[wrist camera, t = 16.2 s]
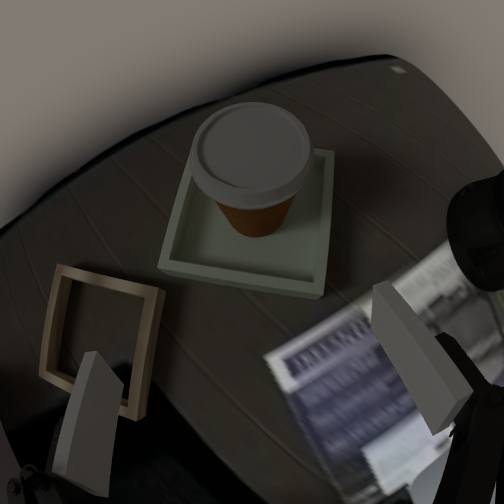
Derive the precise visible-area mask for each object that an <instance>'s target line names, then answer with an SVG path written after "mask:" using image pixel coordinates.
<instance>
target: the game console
mask: <svg viewBox="0 0 504 504" xmlns="http://www.w3.org/2000/svg"><path fill="white" fill-rule="evenodd" d="M20 471H21V468H20V466H19V464H18V462H17V460H16V458H15V455H14V453H13V451H12V449H11V446H10V444H9V441H8V439H7V436H6V434H5V431H4V429H3V426H2V423H1V420H0V504H8V497H7V483H8V481H9V480H10V479H11V478H13V477H16V478H18V479H19V475H20Z"/></svg>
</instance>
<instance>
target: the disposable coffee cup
mask: <svg viewBox="0 0 504 504" xmlns="http://www.w3.org/2000/svg"><path fill="white" fill-rule="evenodd" d="M314 160H315V156H314V148H313V145H312V142H311V140H310V138H309V136H308V133H307V131H306V129H305V127H304V126H303V124H302V123H301V122H300V121H299V120H298V119H297V118H296V117H295V116H294V115H293V114H291V113H290V112H288V111H286V110H285V109H282V108H280V107H278V106H275V105H271V104H266V103H259V102H247V103H239V104H235V105H231V106H228V107H225V108H223V109H221V110H219V111H217V112H216V113H214V114H213V115H211V116H210V117H209V118H208V119H207V120H206V121H205V122H204V123H203V124H202V125H201V126H200V128H199V129H198V131H197V133H196V135H195V137H194V140H193V144H192V147H191V151H190V157H189V163H190V170H191V173H192V176H193V178H194V180H195V182H196V184H197V185H198V186H199V187H200V189H201V190H202V191H203V192H204V193H205V194H206V195H207V196H209V197H211V198H212V199H213V200H214V201H215V203H216V204H217V205H218V207H219V208H220V210H221V211H222V212H223V214H224V215H225V217H226V218H227V219H228V221H229V222H230V224H231V225H232V227H233V228H234V229H235V230H236V231H237V232H239V233H240V234H242V235H244V236H248V237H254V238H258V237H264V236H267V235H270V234H272V233H273V232H275V231H276V230H277V229H278V228H279V227H280V226H281V224H282V222H283V220H284V218H285V216H286V214H287V212H288V210H289V208H290V206H291V204H292V202H293V200H294V198H295V196H296V194H297V192H299V191H300V190H301V189H302V187H303V186H304V185H305V184H306V182H307V181H308V179H309V177H310V175H311V172H312V170H313V166H314Z"/></svg>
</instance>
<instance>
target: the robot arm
mask: <svg viewBox="0 0 504 504" xmlns="http://www.w3.org/2000/svg"><path fill="white" fill-rule="evenodd" d="M447 233H448V239H449V243H450V246H451V250H452V253H453V255H454V257H455V260H456V262H457V264H458V266H459V267H460V269H461V271H462V272H463V273H464V275H465V276H466V277H467V279H468V280H469V281H470V282H471V283H472V284H474V285H475V286H476V287H478V288H480V289H482V290H484V291H488V292H495V291H499V290H502V289H504V170H503V171H501V172H500V173H499V174H498V175H497V176H494V177H490V178H486V179H483V180H479V181H475V182H472V183H469V184H467V185H466V186H464V187H463V188H462V189H461V190H460V191H459V192H457V193H456V194H455V195H454V197H453V198H452V200H451V202H450V204H449V207H448V212H447ZM371 330H372V331H373V333H374V334H375V336H376V338H377V339H378V341H379V342H380V344H381V346H382V347H383V349H384V351H385V352H386V354H387V356H388V357H389V359H390V361H391V362H392V364H393V366H394V367H395V369H396V371H397V372H398V374H399V376H400V377H401V379H402V381H403V383H404V384H405V386H406V388H407V389H408V391H409V393H410V395H411V397H412V398H413V400H414V402H415V404H416V405H417V407H418V409H419V411H420V413H421V414H422V416H423V418H424V420H425V422H426V424H427V426H428V427H429V429H430V431H431V433H432V435H433V436H434V435H435V434H437V433H439V432H441V431H442V430H444V429H446V428H447V427H449V426H450V424H451V423H452V422H453V421H454V422H455V424H456V426H455V427H454V429H453V430H452V431H451V432H450V435H449V437H451V436H452V435H453V434H454V435H453V439H452V443H451V447H450V451H449V455H448V459H447V462H446V466H445V469H444V472H443V476H442V479H441V482H440V485H439V488H438V490H437V493H436V496H435V499H434V501H433V504H490V502H491V498H492V495H493V491H494V487H495V483H496V496H495V497H496V498H495V504H504V387H500V386H498V385H494V384H493V385H491V384H490V383H489V382H488V381H487V380H486V379H485V378H484V376H483V375H482V374H481V372H480V371H479V370H478V368H477V367H476V366H475V364H474V363H473V362H472V360H471V359H470V358H469V356H467V354H466V353H465V351H464V350H463V349H461V346H460V345H459V344H458V342H457V341H456V340H455V339H454V338H453V337H451V336H450V335H448V334H446V333H445V332H443V333H441V334H439V335H437V336H435V337H434V336H433V334H432V333H431V332H430V331H429V329H428V328H427V327H426V326H425V324H424V323H423V322H422V321H421V319H420V318H419V317H418V316H417V314H416V313H415V312H414V311H413V310H412V308H411V307H410V306H409V305H408V303H407V302H406V301H405V300H404V299H403V298H402V296H401V295H400V294H399V293H398V292H397V290H396V289H395V288H394V287H393V286H392V285H391V284H390V282H389V281H388V280H387V281H384V282H381V283H378V284H375V285H373V301H372V317H371ZM123 387H124V384H123V383H122V382H121V381H120V380H119V378H118V377H117V376H116V375H115V374H114V372H113V371H112V370H111V369H110V367H109V366H108V365H107V363H106V362H105V361H104V360H103V358H102V357H101V356H100V354H99V353H98V352H97V351H92V352H85V354H84V357H83V360H82V363H81V366H80V369H79V371H78V374H77V377H76V380H75V383H74V387H73V390H72V393H71V396H70V399H69V403H68V406H67V410H66V413H65V417H61V418H60V419H59V421H58V423H57V424H56V426H55V430H54V434H53V435H54V437H53V438H52V444H51V446H50V450H49V455H48V459H47V464H46V468H45V472H43V471H42V470H40V469H38V468H37V467H35V466H34V465H32V464H27V465H25V466H24V467H23V468H22V469H21V471H20V475H19V479H18V478H16V477H13V478H11V479H10V480H9V481H8V483H7V497H8V504H93V503H92V501H91V500H90V499H89V497H88V496H86V491H87V492H89V493H91V494H93V495H96V496H103V497H108V492H109V480H110V470H111V462H112V453H113V446H114V439H115V432H116V426H117V419H118V414H119V408H120V402H121V397H122V392H123Z"/></svg>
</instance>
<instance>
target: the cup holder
mask: <svg viewBox="0 0 504 504" xmlns="http://www.w3.org/2000/svg"><path fill="white" fill-rule="evenodd" d="M73 279H74V280H77V281H81V282H84V283H88V284H92V285H95V286H99V287H103V288H107V289H110V290H114V291H118V292H122V293H126V294H130V295H135V296H139V297H143V298H145V302H144V307H143V312H142V317H141V322H140V327H139V333H138V338H137V344H136V350H135V356H134V362H133V369H132V376H131V383H130V391H129V399H128V400H127V399H124V398H121V402H120V408H119V414H118V415H121V416H124V417H126V418H129V419H131V420H134V421H138V420H140V419H141V418H143V417H145V416H146V409H147V402H148V394H149V387H150V380H151V374H152V367H153V361H154V355H155V349H156V343H157V338H158V332H159V327H160V322H161V317H162V311H163V306H164V302H165V297H166V291H164V290H162V289H160V288H158V287H153V286H148V285H144V284H139V283H135V282H130V281H126V280H121V279H117V278H113V277H109V276H104V275H100V274H96V273H92V272H88V271H84V270H80V269H76V268H72V267H68V266H65V265H61V264H57V267H56V271H55V275H54V279H53V284H52V288H51V293H50V298H49V303H48V308H47V313H46V319H45V325H44V332H43V339H42V347H41V355H40V366H39V376H40V377H41V378H43V379H45V380H47V381H48V382H50V383H52V384H54V385H56V386H58V387H60V388H61V389H63V390H65V391H67V392H69V393H72V390H73V387H74V383H75V380H76V378H74V377H72V376H69V375H67V374H65V373H63V372H61V371H59V370H58V362H59V354H60V346H61V339H62V332H63V326H64V320H65V315H66V309H67V304H68V299H69V295H70V290H71V286H72V281H73Z"/></svg>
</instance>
